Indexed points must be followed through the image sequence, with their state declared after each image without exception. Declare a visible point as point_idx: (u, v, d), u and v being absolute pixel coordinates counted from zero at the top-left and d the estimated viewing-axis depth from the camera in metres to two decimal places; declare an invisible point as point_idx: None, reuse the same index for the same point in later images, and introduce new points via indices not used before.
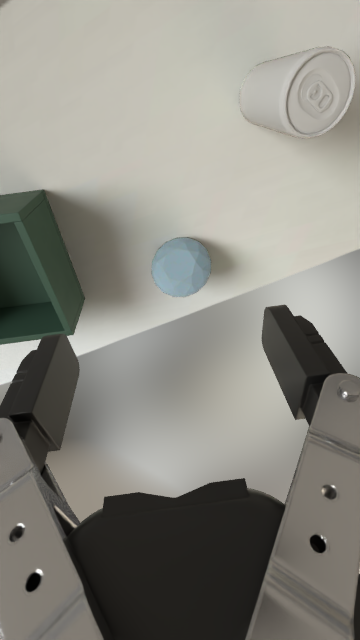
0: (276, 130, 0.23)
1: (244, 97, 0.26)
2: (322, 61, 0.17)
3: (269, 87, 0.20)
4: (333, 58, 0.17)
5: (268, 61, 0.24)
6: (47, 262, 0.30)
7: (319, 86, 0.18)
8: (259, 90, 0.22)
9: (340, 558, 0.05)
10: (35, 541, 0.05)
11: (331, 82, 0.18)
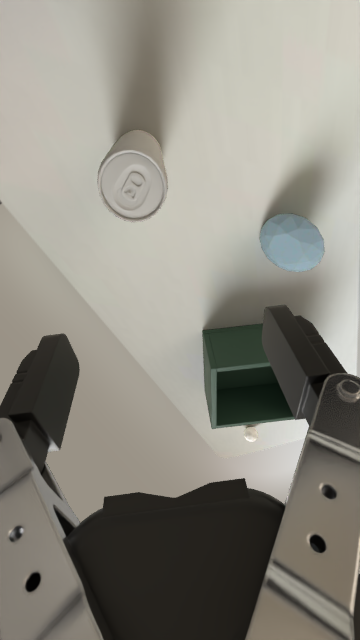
0: None
1: None
2: (108, 192, 0.19)
3: None
4: (104, 181, 0.19)
5: None
6: (250, 356, 0.38)
7: (125, 189, 0.19)
8: None
9: (340, 558, 0.05)
10: (35, 541, 0.05)
11: (121, 177, 0.19)
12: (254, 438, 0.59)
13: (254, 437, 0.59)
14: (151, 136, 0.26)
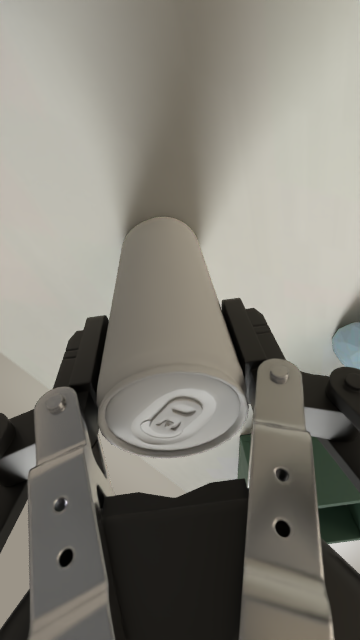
0: None
1: None
2: (120, 427, 0.09)
3: None
4: (112, 414, 0.08)
5: None
6: None
7: (158, 421, 0.09)
8: None
9: (304, 535, 0.05)
10: (74, 518, 0.05)
11: (149, 407, 0.08)
12: None
13: None
14: (186, 231, 0.15)
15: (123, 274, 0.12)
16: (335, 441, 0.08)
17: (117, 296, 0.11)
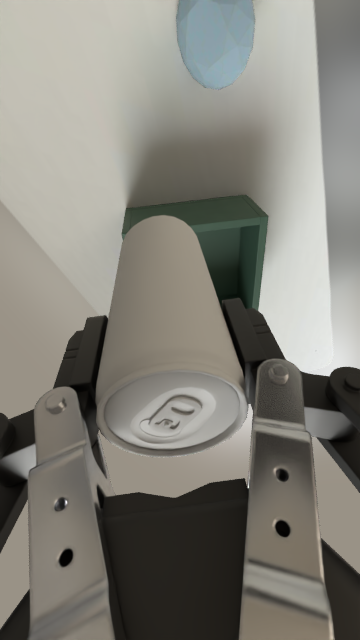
0: None
1: None
2: (119, 426, 0.09)
3: None
4: (111, 413, 0.08)
5: None
6: None
7: (157, 420, 0.09)
8: None
9: (303, 535, 0.05)
10: (74, 518, 0.05)
11: (148, 406, 0.08)
12: None
13: None
14: (186, 230, 0.15)
15: (123, 273, 0.12)
16: (335, 441, 0.08)
17: (116, 295, 0.11)
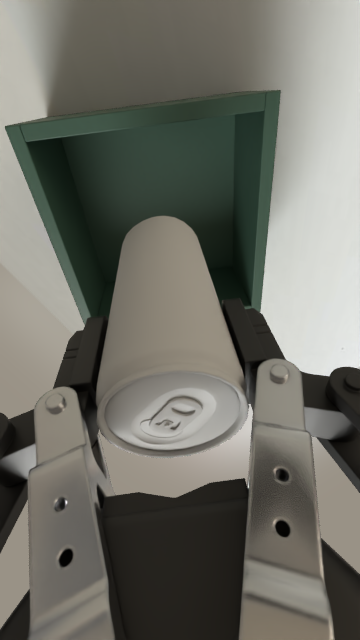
0: None
1: None
2: (119, 426, 0.09)
3: None
4: (111, 413, 0.08)
5: None
6: (112, 111, 0.16)
7: (158, 421, 0.09)
8: None
9: (304, 535, 0.05)
10: (75, 518, 0.05)
11: (149, 407, 0.08)
12: None
13: None
14: (186, 230, 0.15)
15: (123, 273, 0.12)
16: (335, 441, 0.08)
17: (117, 295, 0.11)
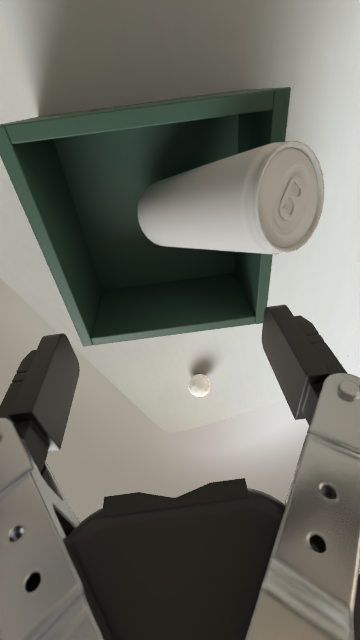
0: None
1: None
2: (264, 210, 0.12)
3: None
4: (261, 192, 0.12)
5: (155, 227, 0.19)
6: (107, 110, 0.15)
7: (284, 203, 0.12)
8: None
9: (340, 558, 0.05)
10: (35, 541, 0.05)
11: (280, 185, 0.12)
12: (203, 390, 0.35)
13: (203, 389, 0.35)
14: None
15: (180, 182, 0.16)
16: None
17: (193, 181, 0.15)
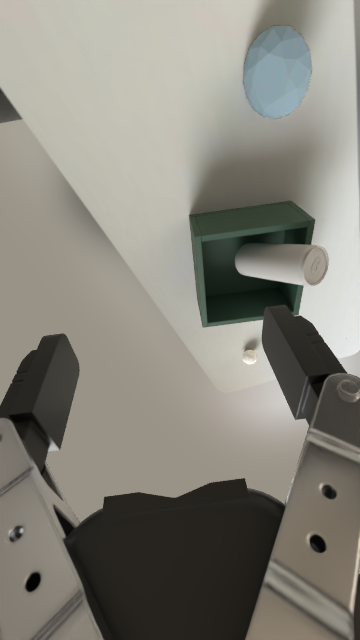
0: None
1: None
2: (306, 271, 0.33)
3: None
4: (305, 265, 0.32)
5: (247, 268, 0.40)
6: (238, 226, 0.35)
7: (313, 267, 0.33)
8: None
9: (340, 558, 0.05)
10: (35, 541, 0.05)
11: (312, 262, 0.33)
12: (253, 359, 0.56)
13: (253, 358, 0.56)
14: None
15: (264, 252, 0.37)
16: None
17: (272, 254, 0.36)
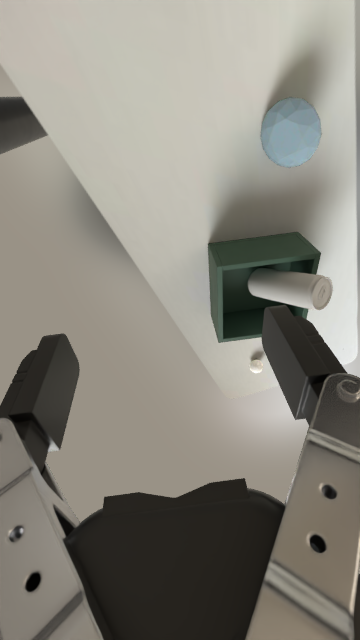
0: None
1: None
2: (314, 298, 0.38)
3: (300, 306, 0.42)
4: (313, 293, 0.38)
5: (259, 292, 0.45)
6: (254, 257, 0.41)
7: (319, 295, 0.38)
8: None
9: (340, 558, 0.05)
10: (35, 541, 0.05)
11: (319, 290, 0.38)
12: (259, 369, 0.61)
13: (259, 368, 0.61)
14: None
15: (276, 278, 0.42)
16: None
17: (283, 281, 0.41)
